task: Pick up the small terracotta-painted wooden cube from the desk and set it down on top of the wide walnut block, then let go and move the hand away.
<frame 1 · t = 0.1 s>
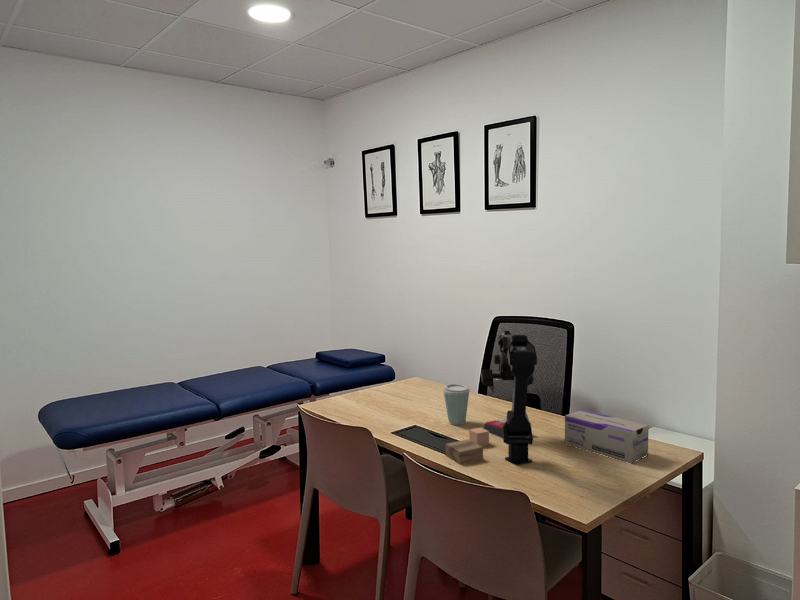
hand: (505, 392, 222), 15 cm above the table, tool tilted 35°, fingers open, 9 cm apart
walnut block: (464, 458, 196), on the table
surgical sutures box: (604, 451, 201), on the table
terracotta cube: (479, 444, 210), on the table
disposable coffee cup: (456, 423, 235), on the table
calculator: (507, 434, 221), on the table
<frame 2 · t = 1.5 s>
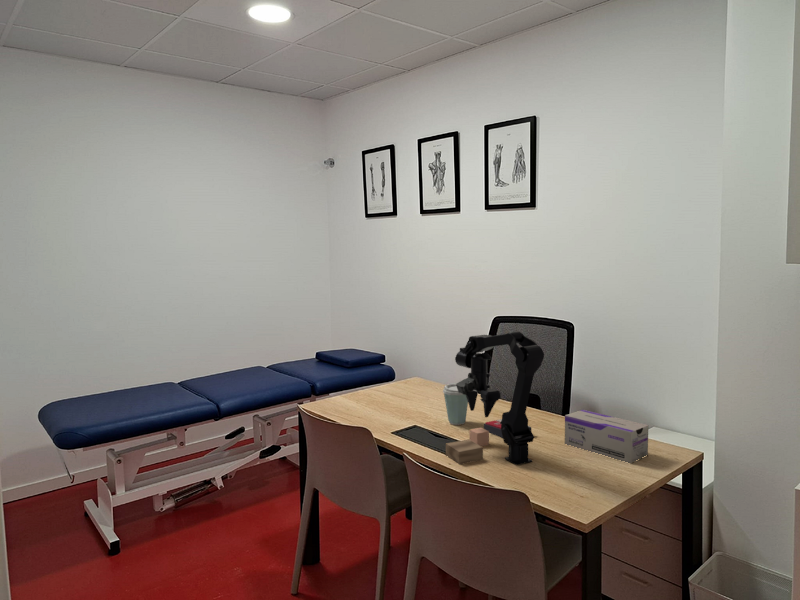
hand: (479, 413, 209), 11 cm above the table, tool pointing down, fingers open, 9 cm apart
nothing on the table moved.
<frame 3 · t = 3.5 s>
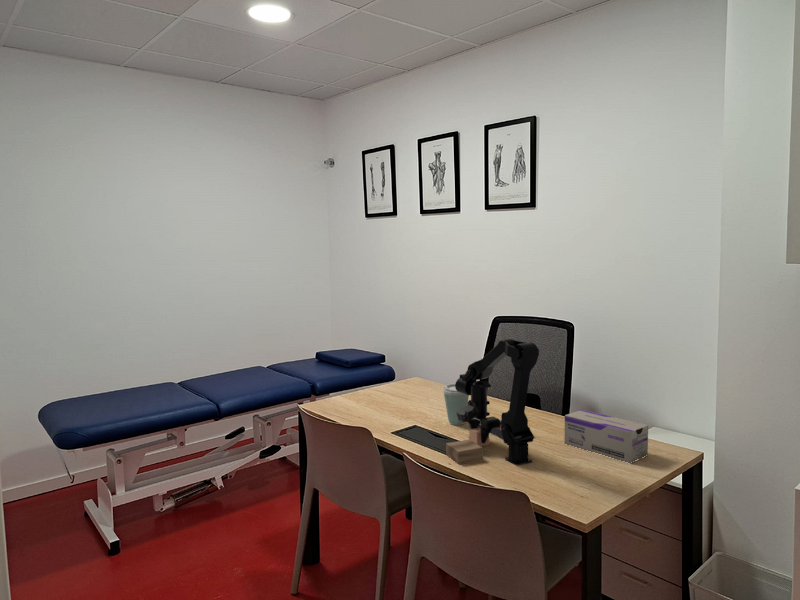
hand: (479, 440, 209), 1 cm above the table, tool pointing down, fingers closed on terracotta cube, 5 cm apart
terracotta cube: (479, 443, 210), on the table, touching gripper
when the fingers open (7 cm above the table, at t = 7.3 s): terracotta cube drops 2 cm, point 4 cm above the table.
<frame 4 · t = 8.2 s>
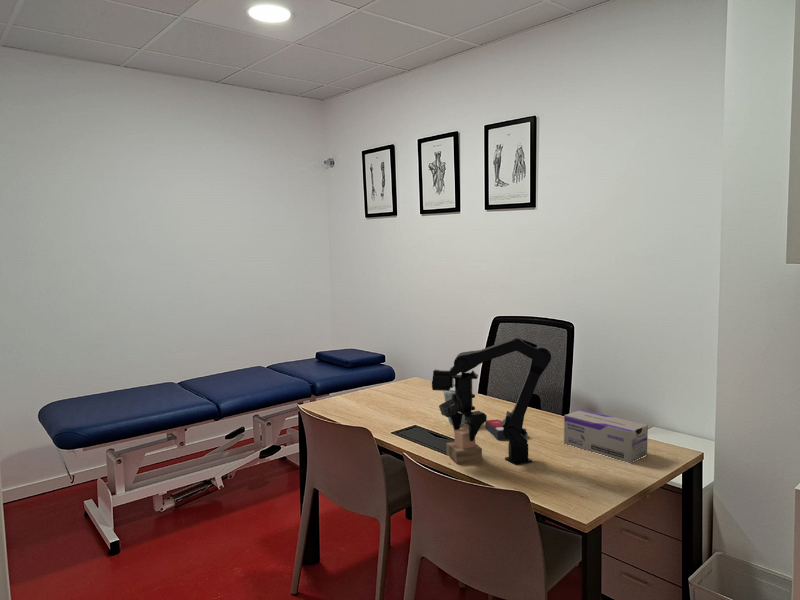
hand: (464, 437, 196), 7 cm above the table, tool pointing down, fingers open, 9 cm apart
terracotta cube: (464, 445, 196), point 4 cm above the table
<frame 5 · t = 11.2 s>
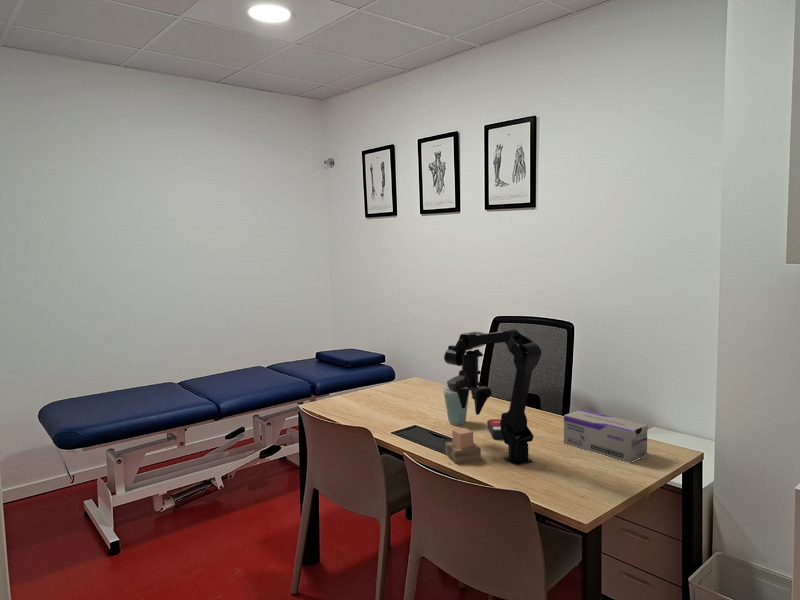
hand: (470, 411, 208), 12 cm above the table, tool pointing down, fingers open, 9 cm apart
at the end: terracotta cube 0.2 cm off-centre on the walnut block, point 4.5 cm above the walnut block's base; terracotta cube tilted 0°; the gripper is holding nothing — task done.
